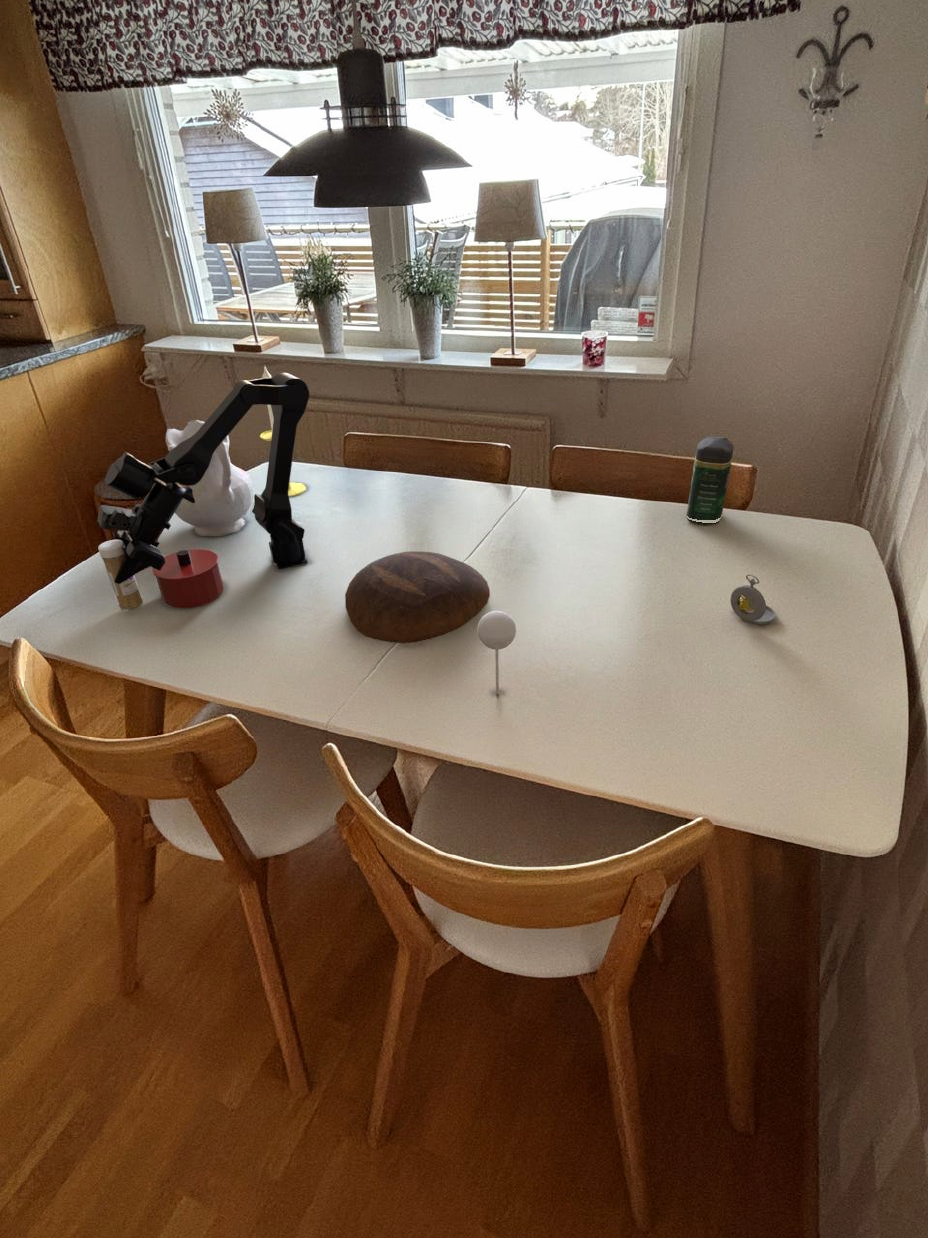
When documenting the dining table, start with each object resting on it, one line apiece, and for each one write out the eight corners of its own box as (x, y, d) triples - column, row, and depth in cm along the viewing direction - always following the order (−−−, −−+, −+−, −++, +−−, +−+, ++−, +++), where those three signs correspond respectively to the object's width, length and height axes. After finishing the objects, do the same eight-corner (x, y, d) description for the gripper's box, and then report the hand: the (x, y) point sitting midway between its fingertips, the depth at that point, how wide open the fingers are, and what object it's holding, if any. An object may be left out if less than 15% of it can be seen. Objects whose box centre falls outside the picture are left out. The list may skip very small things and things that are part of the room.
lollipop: (477, 682, 118) (474, 604, 110) (512, 680, 118) (512, 601, 110) (481, 706, 113) (478, 626, 105) (518, 703, 113) (518, 623, 105)
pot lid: (205, 547, 151) (201, 532, 149) (229, 568, 143) (225, 553, 141) (144, 567, 145) (139, 551, 143) (166, 590, 136) (161, 574, 134)
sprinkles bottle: (140, 609, 141) (119, 548, 133) (116, 612, 140) (94, 550, 133) (146, 598, 144) (126, 537, 137) (123, 600, 144) (101, 539, 137)
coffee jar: (719, 528, 163) (733, 449, 153) (683, 524, 166) (694, 445, 156) (723, 512, 171) (736, 435, 161) (689, 507, 173) (700, 432, 163)
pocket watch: (774, 609, 134) (785, 562, 128) (775, 634, 127) (786, 584, 122) (727, 603, 136) (736, 556, 131) (726, 627, 129) (735, 578, 124)
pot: (210, 573, 154) (203, 546, 150) (232, 594, 146) (226, 566, 143) (155, 592, 148) (146, 564, 144) (175, 614, 140) (167, 586, 136)
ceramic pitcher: (282, 526, 175) (270, 423, 164) (219, 553, 161) (200, 442, 149) (222, 510, 186) (205, 412, 174) (157, 533, 171) (135, 428, 159)
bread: (425, 559, 156) (422, 522, 151) (519, 602, 139) (519, 562, 134) (315, 610, 139) (308, 570, 135) (407, 666, 123) (403, 623, 118)
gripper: (106, 474, 138) (64, 542, 139) (127, 505, 125) (80, 580, 126) (159, 502, 146) (119, 566, 147) (184, 534, 133) (140, 604, 134)
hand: (114, 578), depth 138 cm, fingers closed on sprinkles bottle, 4 cm apart
